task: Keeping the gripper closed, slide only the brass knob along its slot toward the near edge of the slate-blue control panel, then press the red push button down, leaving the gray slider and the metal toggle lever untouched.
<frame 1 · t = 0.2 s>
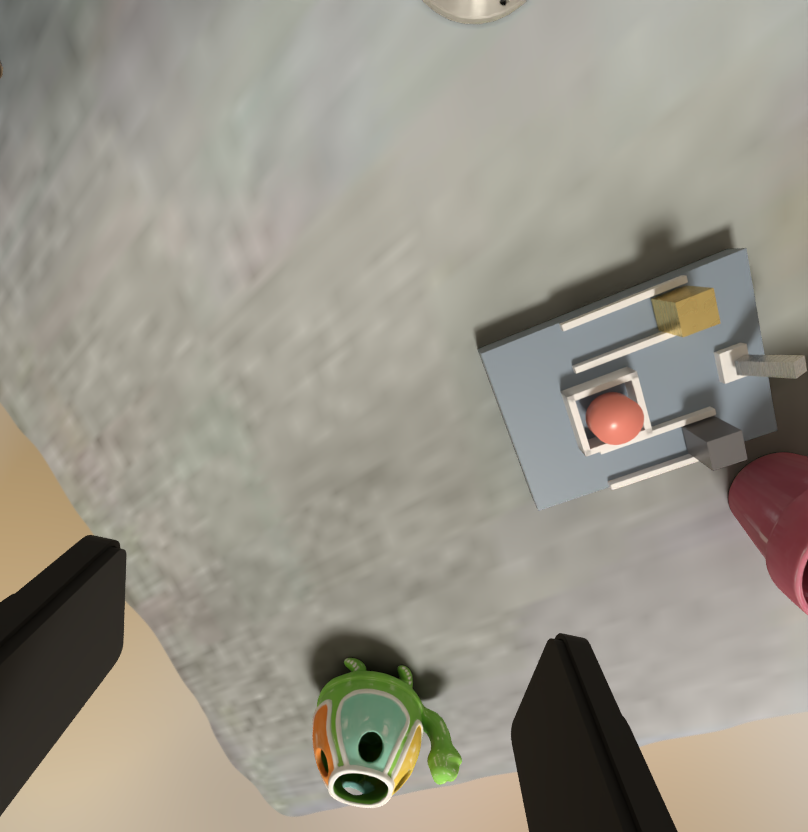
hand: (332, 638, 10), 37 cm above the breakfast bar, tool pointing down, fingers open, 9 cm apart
slider brass: (684, 310, 38), point 5 cm above the breakfast bar, slide at 0.0 cm
slider gray: (713, 442, 42), point 5 cm above the breakfast bar, slide at 0.0 cm
panel: (620, 386, 45), on the breakfast bar
toggle: (768, 365, 39), point 6 cm above the breakfast bar, hinge at -25.0°
turtle holder: (382, 690, 60), on the breakfast bar
plant pot: (770, 489, 49), on the breakfast bar
button: (613, 418, 41), point 5 cm above the breakfast bar, slide at 0.0 cm
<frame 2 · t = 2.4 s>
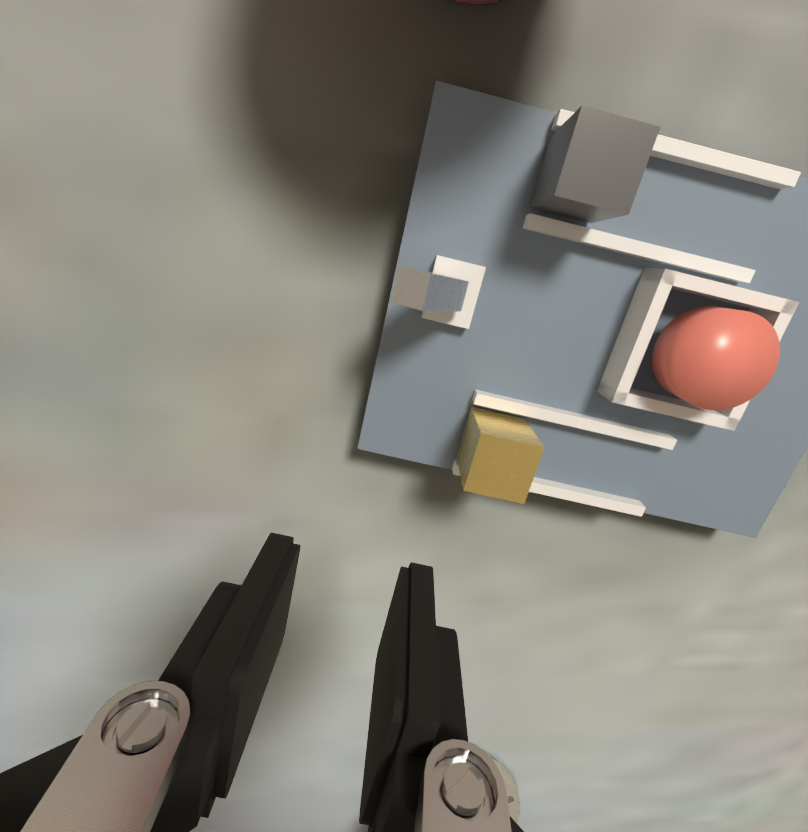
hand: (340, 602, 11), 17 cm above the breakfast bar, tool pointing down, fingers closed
slider brass: (496, 452, 23), point 5 cm above the breakfast bar, slide at 0.0 cm
slider gray: (587, 172, 19), point 5 cm above the breakfast bar, slide at 0.0 cm
panel: (600, 335, 26), on the breakfast bar
toggle: (433, 290, 19), point 6 cm above the breakfast bar, hinge at -25.0°
button: (712, 357, 21), point 5 cm above the breakfast bar, slide at 0.0 cm
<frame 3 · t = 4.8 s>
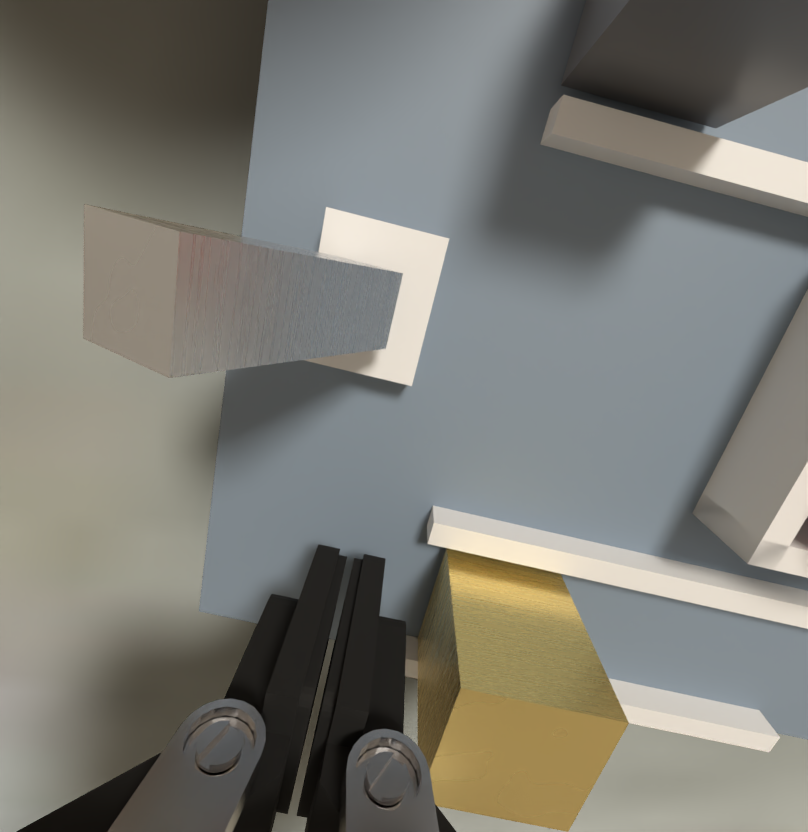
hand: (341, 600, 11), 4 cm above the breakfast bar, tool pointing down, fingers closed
slider brass: (499, 670, 10), point 5 cm above the breakfast bar, slide at 0.6 cm, touching gripper
panel: (689, 387, 13), on the breakfast bar
toggle: (280, 298, 7), point 6 cm above the breakfast bar, hinge at -25.0°
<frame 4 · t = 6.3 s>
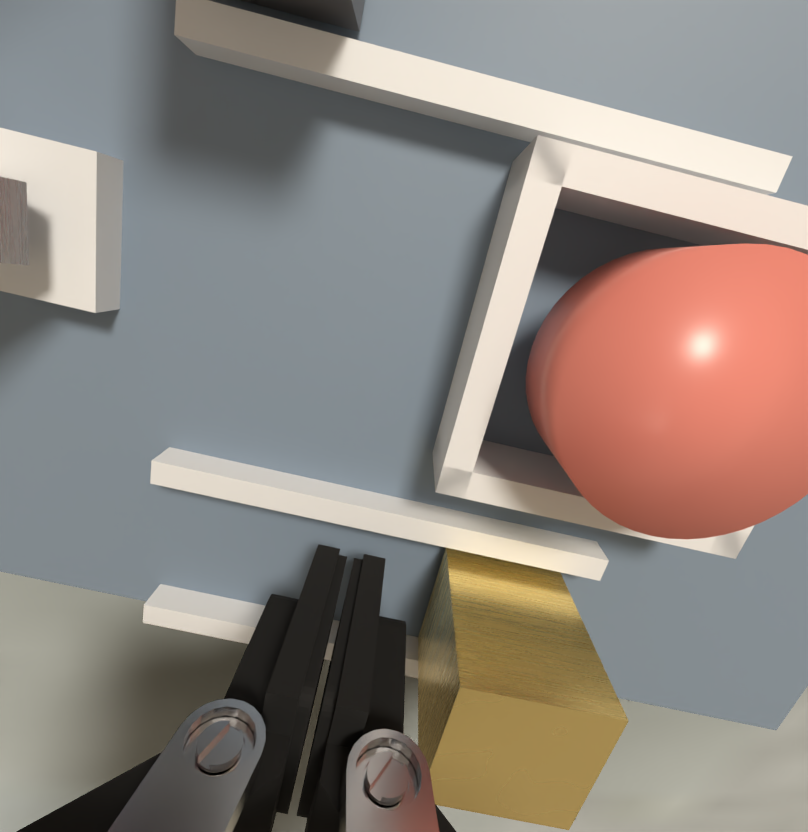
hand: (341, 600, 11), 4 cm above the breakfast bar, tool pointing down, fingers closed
slider brass: (499, 669, 10), point 5 cm above the breakfast bar, slide at 7.2 cm, touching gripper
panel: (460, 330, 12), on the breakfast bar
button: (674, 389, 7), point 5 cm above the breakfast bar, slide at 0.0 cm
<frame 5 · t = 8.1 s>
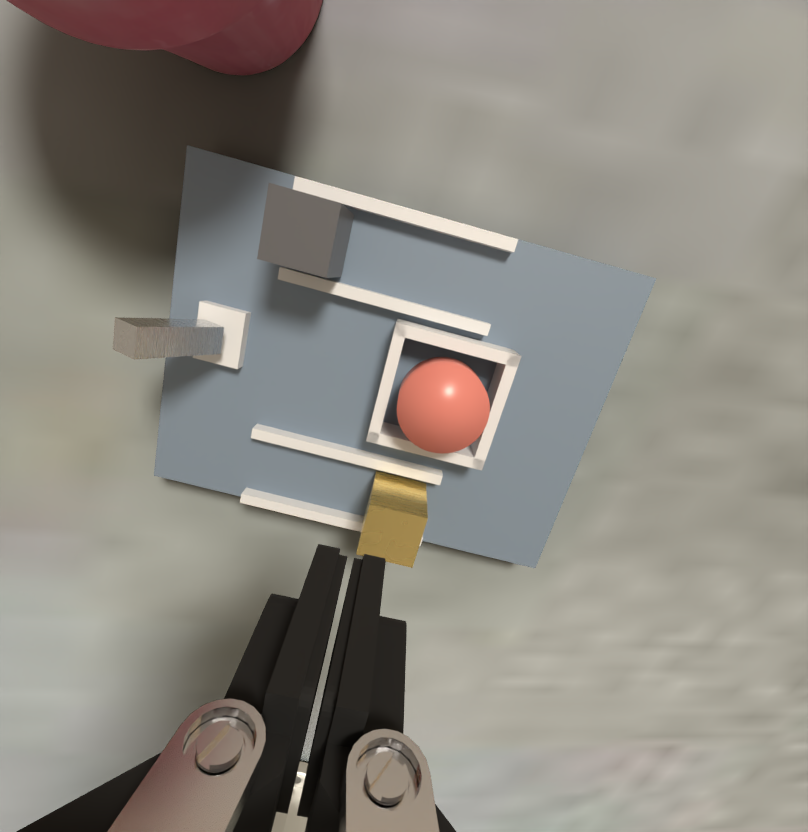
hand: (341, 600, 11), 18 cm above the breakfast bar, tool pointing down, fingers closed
slider brass: (393, 516, 25), point 5 cm above the breakfast bar, slide at 7.3 cm
slider gray: (309, 235, 21), point 5 cm above the breakfast bar, slide at 0.0 cm
panel: (387, 375, 27), on the breakfast bar
toggle: (172, 337, 21), point 6 cm above the breakfast bar, hinge at -25.0°
button: (441, 404, 22), point 5 cm above the breakfast bar, slide at 0.0 cm
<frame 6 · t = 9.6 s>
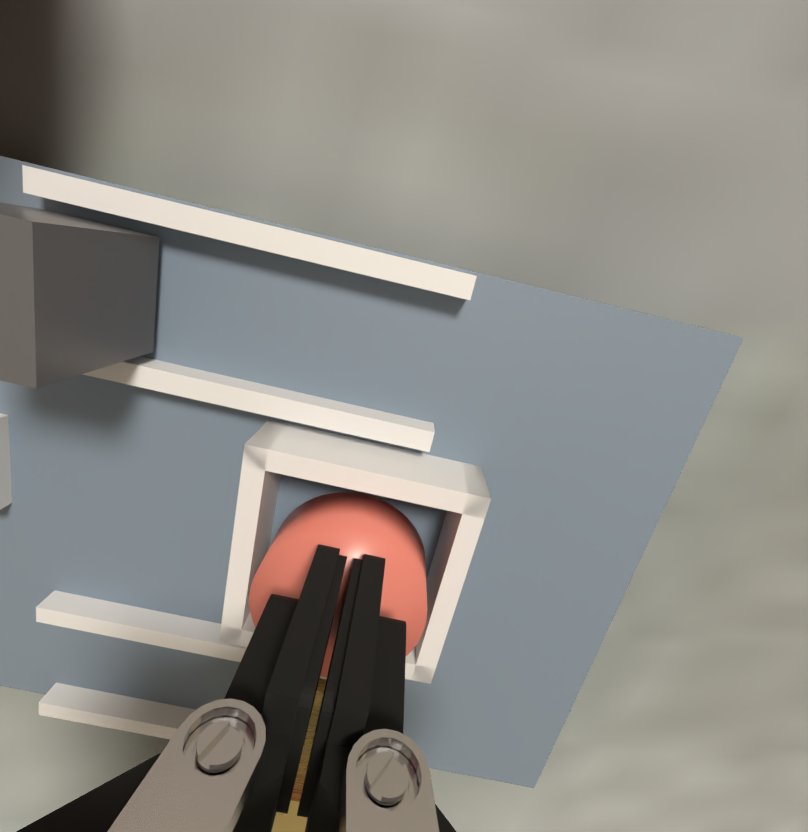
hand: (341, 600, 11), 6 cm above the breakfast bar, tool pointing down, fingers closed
slider brass: (280, 757, 14), point 5 cm above the breakfast bar, slide at 7.3 cm
slider gray: (38, 286, 10), point 5 cm above the breakfast bar, slide at 0.0 cm
panel: (282, 491, 17), on the breakfast bar
button: (344, 583, 12), point 5 cm above the breakfast bar, slide at 0.5 cm, touching gripper
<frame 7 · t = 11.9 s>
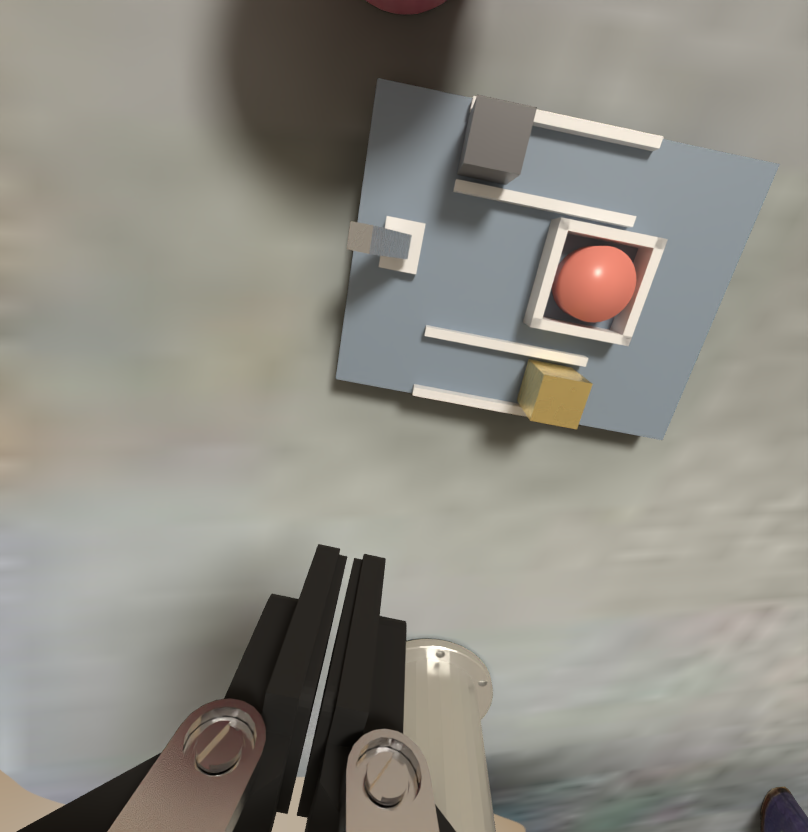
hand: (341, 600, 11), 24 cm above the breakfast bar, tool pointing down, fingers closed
slider brass: (551, 392, 29), point 5 cm above the breakfast bar, slide at 7.3 cm
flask: (772, 810, 51), on the breakfast bar
slider gray: (493, 144, 25), point 5 cm above the breakfast bar, slide at 0.0 cm
panel: (528, 278, 32), on the breakfast bar
toggle: (381, 241, 25), point 6 cm above the breakfast bar, hinge at -25.0°
button: (592, 283, 28), point 4 cm above the breakfast bar, slide at 1.5 cm
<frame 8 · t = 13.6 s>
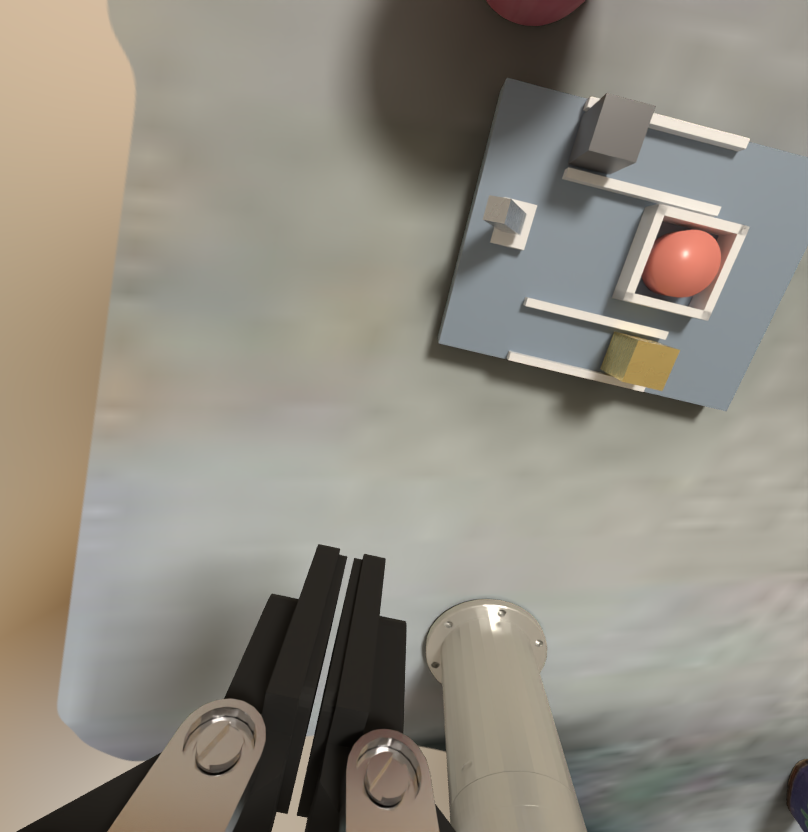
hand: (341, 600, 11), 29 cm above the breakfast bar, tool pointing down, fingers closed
slider brass: (637, 360, 33), point 5 cm above the breakfast bar, slide at 7.3 cm
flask: (798, 783, 54), on the breakfast bar
slider gray: (608, 137, 29), point 5 cm above the breakfast bar, slide at 0.0 cm
panel: (614, 261, 36), on the breakfast bar
toggle: (505, 216, 29), point 6 cm above the breakfast bar, hinge at -25.0°
button: (679, 264, 32), point 4 cm above the breakfast bar, slide at 1.5 cm
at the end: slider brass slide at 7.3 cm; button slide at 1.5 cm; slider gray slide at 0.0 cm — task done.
